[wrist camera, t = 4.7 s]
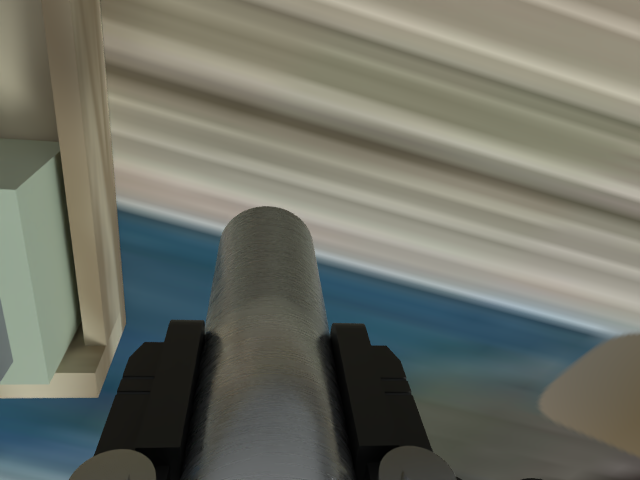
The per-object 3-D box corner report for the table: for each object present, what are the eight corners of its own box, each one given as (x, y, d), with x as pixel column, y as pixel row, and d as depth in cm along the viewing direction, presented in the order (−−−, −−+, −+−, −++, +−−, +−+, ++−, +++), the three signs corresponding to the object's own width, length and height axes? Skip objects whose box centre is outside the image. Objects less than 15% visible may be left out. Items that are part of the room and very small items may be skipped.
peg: (317, 208, 16) (500, 1010, 4) (309, 289, 17) (421, 1078, 5) (219, 204, 16) (40, 1081, 3) (219, 287, 17) (92, 1137, 4)
